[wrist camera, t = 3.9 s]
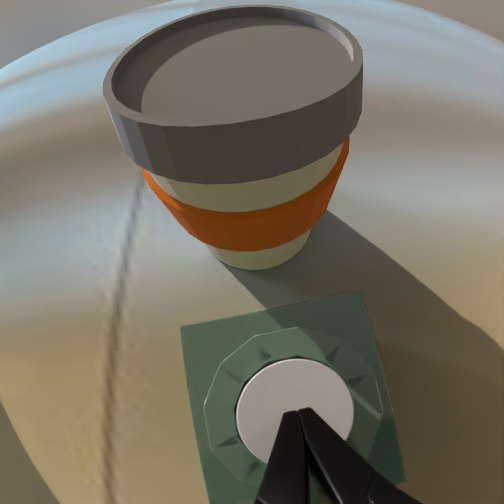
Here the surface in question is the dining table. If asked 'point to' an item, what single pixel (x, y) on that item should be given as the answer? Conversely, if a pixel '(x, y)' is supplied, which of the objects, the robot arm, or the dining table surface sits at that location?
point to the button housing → (269, 352)
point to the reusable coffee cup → (240, 123)
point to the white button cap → (291, 401)
